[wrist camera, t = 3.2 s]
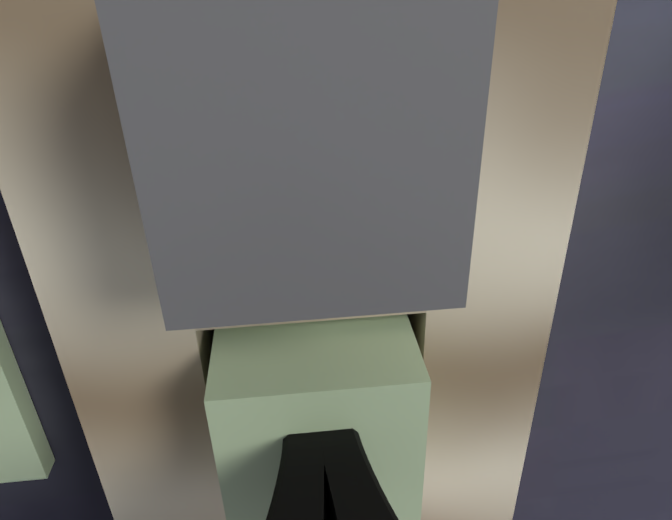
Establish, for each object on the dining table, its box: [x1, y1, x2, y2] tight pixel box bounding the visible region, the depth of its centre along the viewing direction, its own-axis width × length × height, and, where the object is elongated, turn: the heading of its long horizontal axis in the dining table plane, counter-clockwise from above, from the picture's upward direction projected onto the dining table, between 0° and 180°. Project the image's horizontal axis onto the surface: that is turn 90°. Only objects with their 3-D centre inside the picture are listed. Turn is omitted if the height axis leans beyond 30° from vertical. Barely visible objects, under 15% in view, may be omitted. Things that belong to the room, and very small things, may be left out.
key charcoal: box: [94, 0, 499, 331], centre depth 8 cm, size 4×4×3 cm
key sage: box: [204, 314, 431, 520], centre depth 12 cm, size 4×4×3 cm
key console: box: [0, 0, 617, 520], centre depth 13 cm, size 20×10×2 cm, turn 1°
